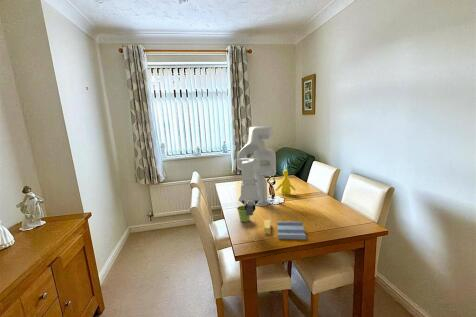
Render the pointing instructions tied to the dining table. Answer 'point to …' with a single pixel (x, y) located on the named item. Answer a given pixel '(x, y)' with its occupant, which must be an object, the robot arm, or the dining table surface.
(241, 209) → the plant pot
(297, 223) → the slot rack
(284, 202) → the dining table surface
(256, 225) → the dining table surface
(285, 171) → the figure statuette
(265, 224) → the butter stick
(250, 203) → the dark gray block
